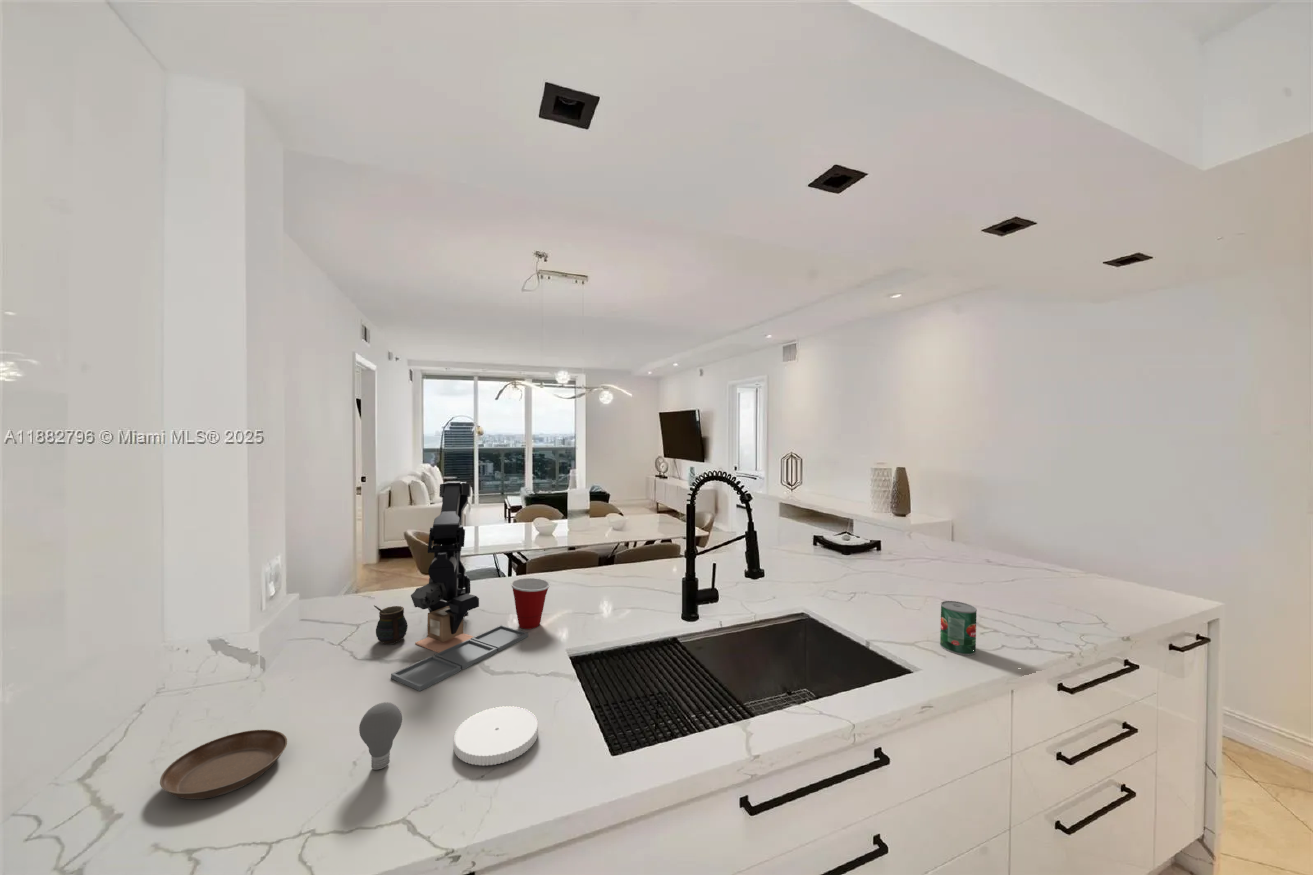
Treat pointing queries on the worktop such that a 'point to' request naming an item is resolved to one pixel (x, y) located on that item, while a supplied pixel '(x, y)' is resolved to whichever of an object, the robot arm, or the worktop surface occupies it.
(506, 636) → the tray
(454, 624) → the robot arm
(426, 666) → the tray
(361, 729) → the light bulb
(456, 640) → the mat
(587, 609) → the worktop surface
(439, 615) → the cardboard box
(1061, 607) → the worktop surface
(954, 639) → the canned tomato
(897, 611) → the worktop surface
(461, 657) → the tray
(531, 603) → the plastic cup
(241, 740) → the saucer
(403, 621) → the mate gourd
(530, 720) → the plastic lid
